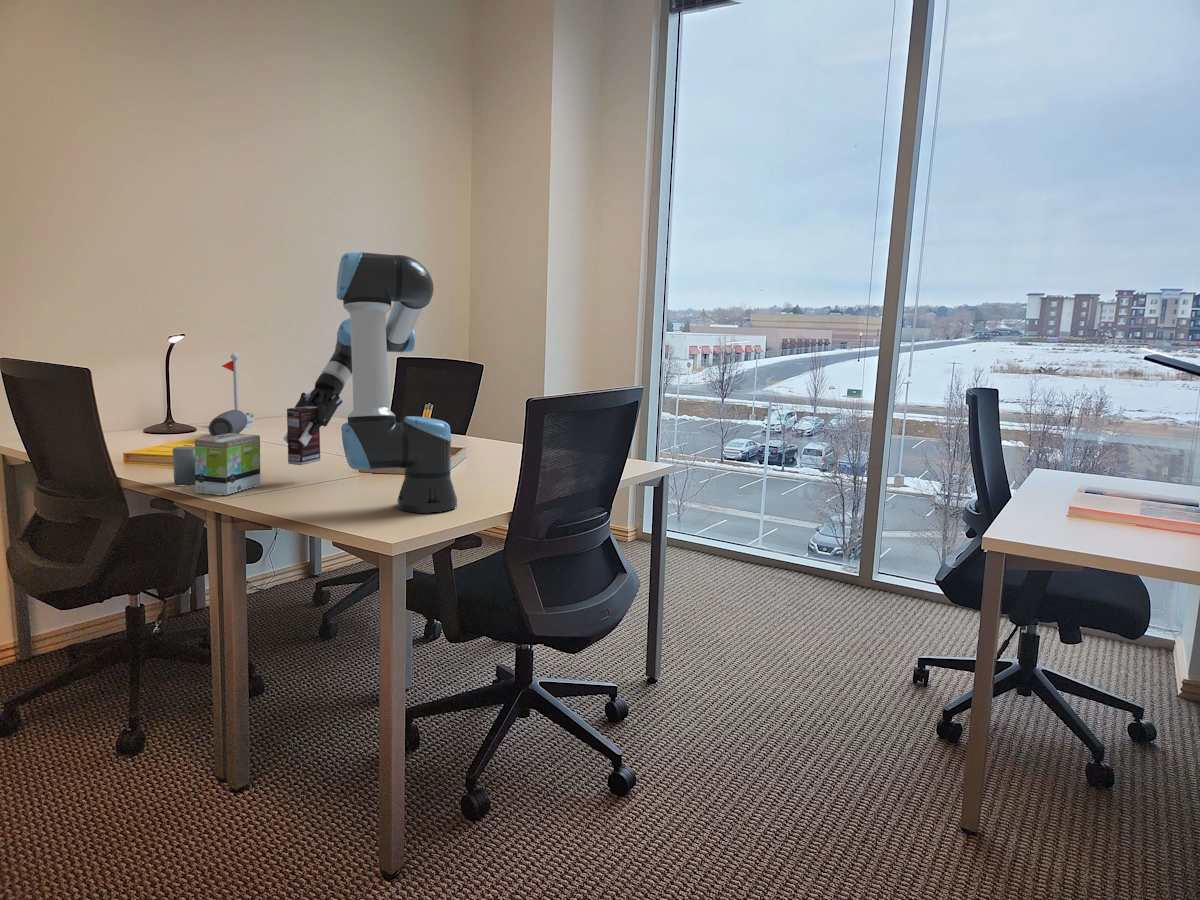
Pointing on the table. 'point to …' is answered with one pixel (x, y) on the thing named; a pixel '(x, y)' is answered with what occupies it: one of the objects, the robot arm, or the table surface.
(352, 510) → the table surface
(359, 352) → the robot arm
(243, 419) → the bluetooth speaker
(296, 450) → the supplement box
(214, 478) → the tea box
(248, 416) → the flag stand
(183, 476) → the upright grey block
